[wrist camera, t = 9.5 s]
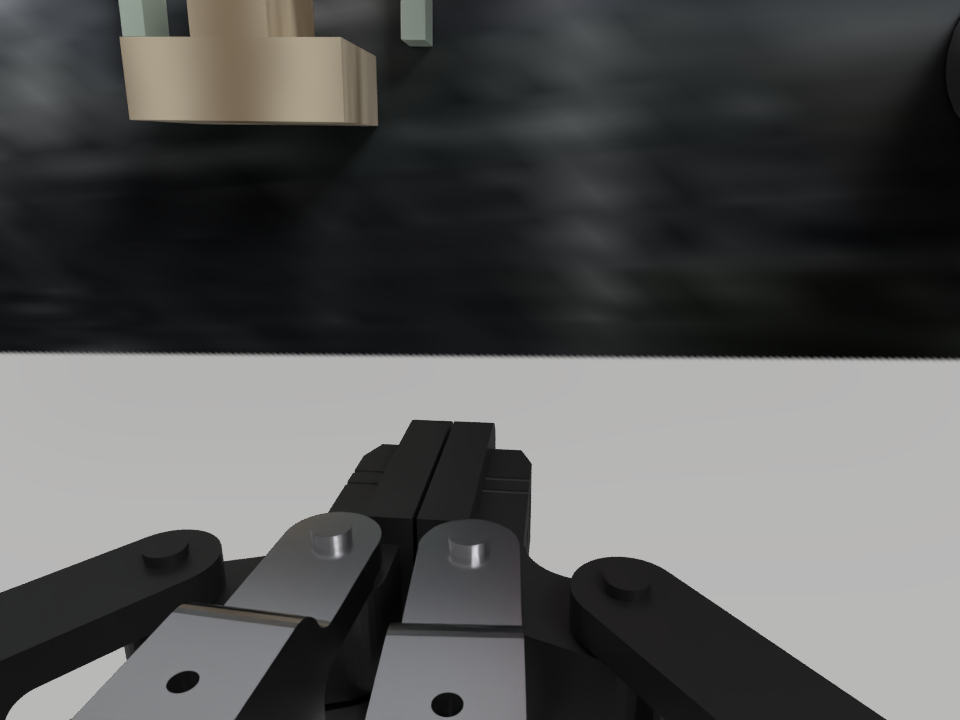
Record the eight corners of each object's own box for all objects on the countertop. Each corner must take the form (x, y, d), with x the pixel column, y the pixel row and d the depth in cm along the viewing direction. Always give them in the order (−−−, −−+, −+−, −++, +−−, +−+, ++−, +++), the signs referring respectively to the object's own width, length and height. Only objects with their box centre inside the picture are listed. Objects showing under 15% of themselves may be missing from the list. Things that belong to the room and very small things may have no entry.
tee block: (371, -84, 36) (333, -137, 29) (377, 126, 38) (344, 122, 32) (179, -82, 36) (98, -133, 30) (199, 124, 39) (129, 119, 32)
